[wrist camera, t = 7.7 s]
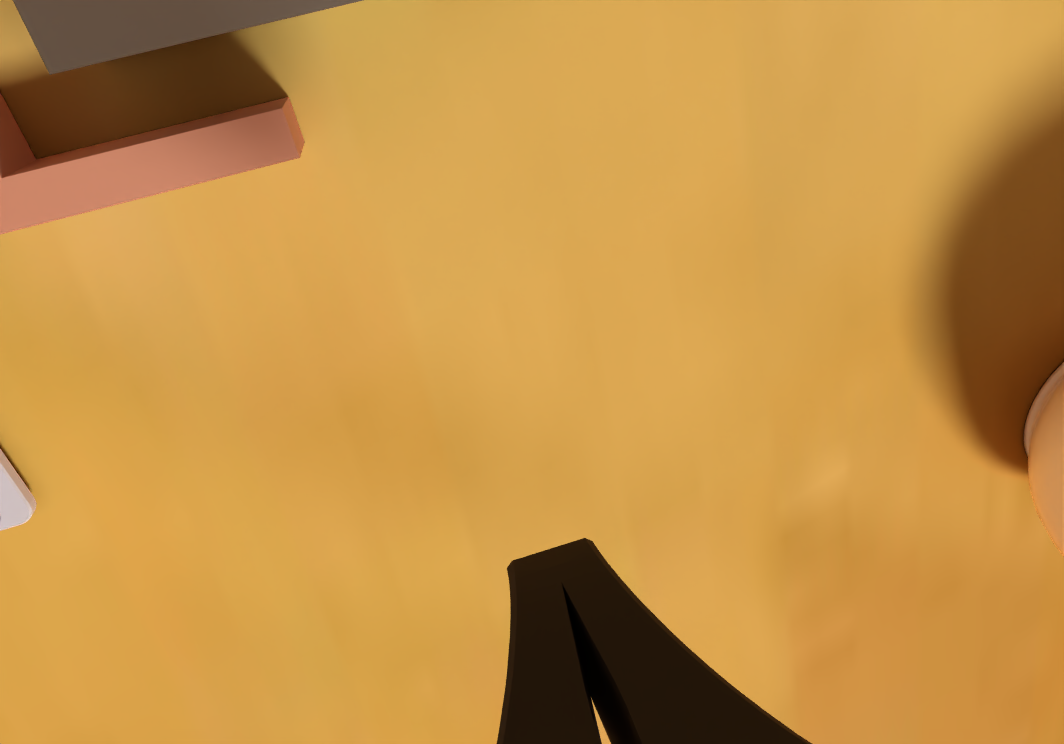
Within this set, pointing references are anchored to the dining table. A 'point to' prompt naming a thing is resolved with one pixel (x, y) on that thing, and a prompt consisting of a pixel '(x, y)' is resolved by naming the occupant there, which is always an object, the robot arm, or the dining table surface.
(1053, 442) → the lidded jar
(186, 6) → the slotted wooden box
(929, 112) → the dining table surface
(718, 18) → the dining table surface
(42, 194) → the keeper bracket
